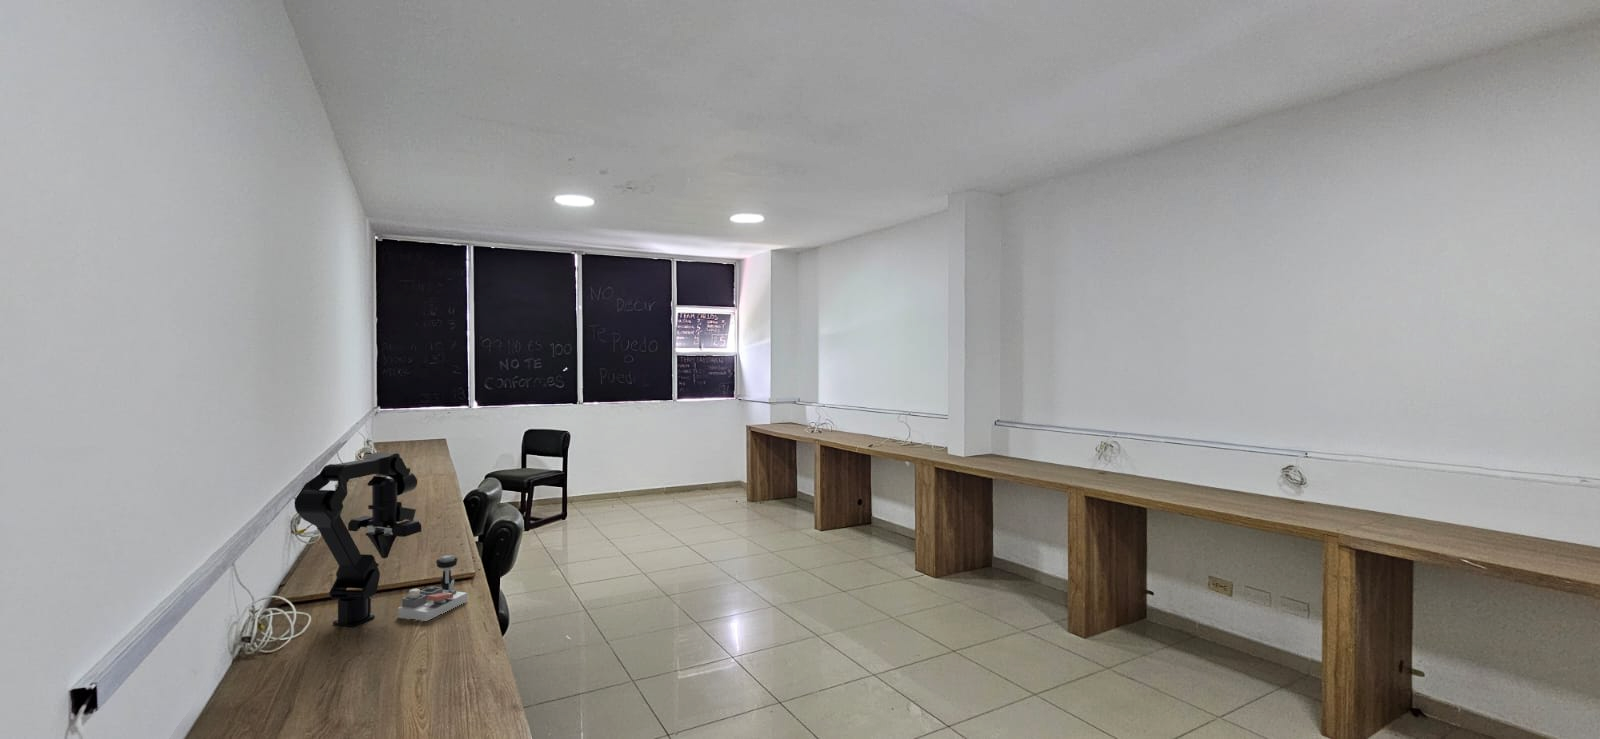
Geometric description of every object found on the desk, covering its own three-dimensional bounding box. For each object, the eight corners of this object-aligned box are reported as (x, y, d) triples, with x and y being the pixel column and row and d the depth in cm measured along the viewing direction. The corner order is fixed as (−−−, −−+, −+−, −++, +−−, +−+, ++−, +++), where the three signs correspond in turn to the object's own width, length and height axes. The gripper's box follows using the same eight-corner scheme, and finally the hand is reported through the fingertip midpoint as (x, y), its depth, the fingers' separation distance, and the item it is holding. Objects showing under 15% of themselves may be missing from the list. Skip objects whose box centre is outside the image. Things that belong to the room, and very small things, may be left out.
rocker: (435, 600, 175) (436, 596, 175) (426, 599, 176) (427, 595, 176) (452, 597, 181) (453, 593, 181) (443, 596, 181) (444, 592, 182)
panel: (427, 622, 172) (427, 598, 172) (398, 617, 174) (398, 594, 174) (468, 602, 186) (468, 580, 185) (440, 598, 188) (440, 576, 188)
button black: (431, 597, 180) (431, 590, 180) (423, 596, 181) (423, 589, 181) (438, 594, 183) (438, 586, 183) (430, 593, 183) (430, 585, 183)
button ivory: (414, 600, 175) (414, 592, 175) (406, 599, 176) (406, 591, 176) (421, 597, 177) (421, 589, 177) (414, 595, 178) (414, 588, 178)
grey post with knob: (435, 588, 195) (435, 553, 195) (456, 585, 198) (456, 551, 197) (436, 596, 189) (436, 560, 189) (458, 593, 192) (458, 557, 191)
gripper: (437, 496, 188) (437, 552, 189) (381, 491, 193) (381, 546, 194) (404, 505, 178) (404, 565, 178) (346, 499, 182) (346, 557, 183)
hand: (384, 557), depth 184 cm, fingers closed
